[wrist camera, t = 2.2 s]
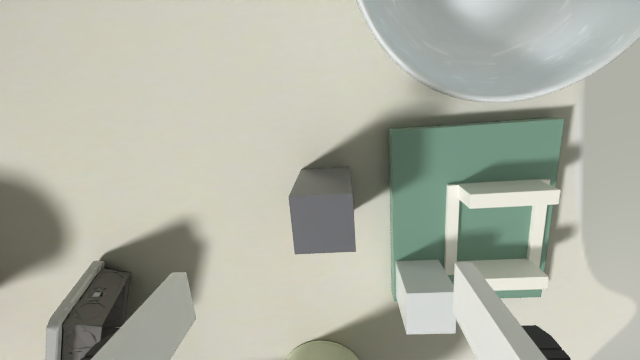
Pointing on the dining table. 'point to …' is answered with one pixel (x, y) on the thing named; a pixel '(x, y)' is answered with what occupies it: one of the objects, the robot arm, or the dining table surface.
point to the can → (321, 351)
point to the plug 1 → (323, 211)
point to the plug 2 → (425, 297)
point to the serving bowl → (502, 42)
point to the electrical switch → (88, 313)
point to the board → (476, 199)
